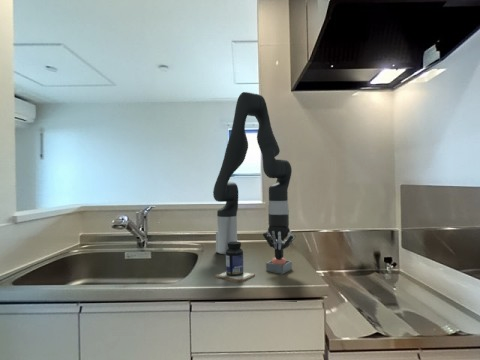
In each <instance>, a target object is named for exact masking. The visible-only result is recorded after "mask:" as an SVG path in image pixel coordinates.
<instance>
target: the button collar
mask: <svg viewBox="0 0 480 360" xmlns="http://www.w3.org/2000/svg"><path fill="white" fill-rule="evenodd" d="M292 262H293V261H292V260H288V259H286V264H284V265H279V264H273V263H272V259H271V260H269V261H267V262H266V263H265V269H266V272H270V273H276V274H282V275H284V274H285V273H287V272H289V271H292V270H293V269H292V268H293V266H292V265H293V263H292Z"/></svg>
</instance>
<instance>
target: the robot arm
mask: <svg viewBox="0 0 480 360" xmlns="http://www.w3.org/2000/svg"><path fill="white" fill-rule="evenodd" d="M249 116H250V117H255V119H256V121H257V123H258V129H257V134H256V140H257V144H258V148H259V150H260V152H261V159H262V169H263V173H264V174H265V176H267V178H269V179H276V182H275V183H274V184H272V185H270V186H269V187H268V228H267V231H266V232H263V234H262V236H263V237H264V239H265V241H266V243H267V244H268V245H269V246H270V248H273V249H274V258H276V259H278V260H281V259H282V258H284V249H287V248H288V247H289V246H290V245H291V243H292V242H293V241H294V240H295V239H296V235H295V234H292V232H291V230H290V228H289V227H290V226H289V225H290V214H289V213H290V210H289V209H290V208H289V199H288V197H289V196H288V189H289V185H290V182H291V177H292V171H293V170H292V165H291V163H290V162H289V160H286V159H276V157H277V156H278V155H279V154H280V153H281V152H280V151H281V150H280V147H279V144H278V142H277V139H276V137H275V134H274V132H273V128H272V125H271V121H270V120H271V119H270V115H269V111H268V106H267V103H266V100H265V98H264V96H263V95H262V94H258V93H254V92H249V91H242V92H241V93H240V94H239V96H238V98H237V101H236V104H235V110H234V117H233V121H232V126H231V131H230V134H229V138H228V140H227V141H228V142H227V144H226V148H225V151H224V157H223V160H222V164H221V167H220V170H219V173H218V175H217V178H216V181H215V183H214V187H213V191H212V193H213V194H212V196H213V199H214V200H215V201H216V202H220V203H223V202H225V205H224V206H222V207H221V208H219V209H218V210H217V212H216V215H217V216H216V217H217V220H216V221H217V228H216V229H217V231H216V232H215V252H216V253H218V254H221V255H226V250H227V249H228V242H233V241H237V242H238V219H237V215H238V210H239V187H238V185H237V183H235V182H234V181H229V180H230V179H231V177H232V175H233V174H234V173H235V172H236V171H237V170H238V169H239V168H240V167H241V165H242V164H243V163H244V161H245V159H246V156H247V153H248V149H249V142H248V141H249V140H248V137H247V134H246V130H245V127H246V122H247V118H248V117H249Z"/></svg>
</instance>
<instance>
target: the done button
mask: <svg viewBox="0 0 480 360" xmlns="http://www.w3.org/2000/svg"><path fill="white" fill-rule="evenodd" d="M271 260H272V263H273V264H279V265H284V264H286V260H287V259H286V258H285V257H283V258H282V259H281V260H278V259H276V258H275V257H272V259H271Z"/></svg>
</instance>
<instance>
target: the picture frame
mask: <svg viewBox="0 0 480 360" xmlns="http://www.w3.org/2000/svg"><path fill="white" fill-rule="evenodd" d="M255 276H256V273H252V272H247V271H243V274H242V275H240V276H229V275H227V274H226V270H224V271H222V272H220V273H217V274H215V275H214V278H217V279H221V280H226V281H230V282H234V283H238V284H239V283H240V284H241V283H243V282H246V281H248V280H250V279H251V278H254V277H255Z"/></svg>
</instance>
